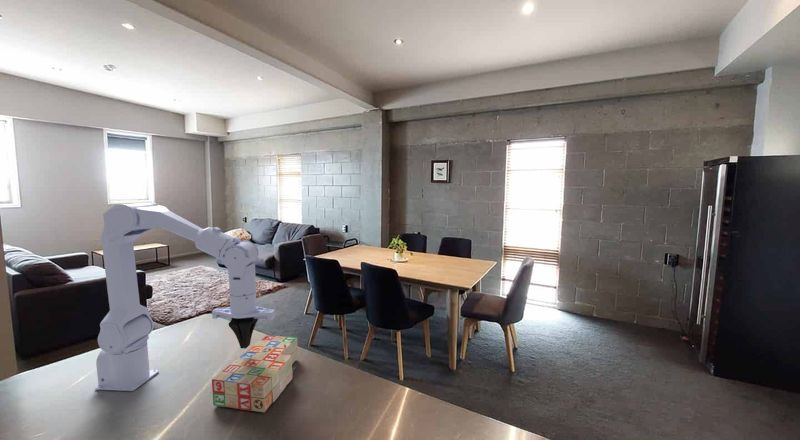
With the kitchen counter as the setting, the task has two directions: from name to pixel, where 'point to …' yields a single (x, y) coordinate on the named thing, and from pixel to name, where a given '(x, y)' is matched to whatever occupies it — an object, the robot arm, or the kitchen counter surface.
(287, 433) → the kitchen counter surface
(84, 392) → the kitchen counter surface
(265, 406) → the stack of blocks
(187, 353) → the kitchen counter surface
